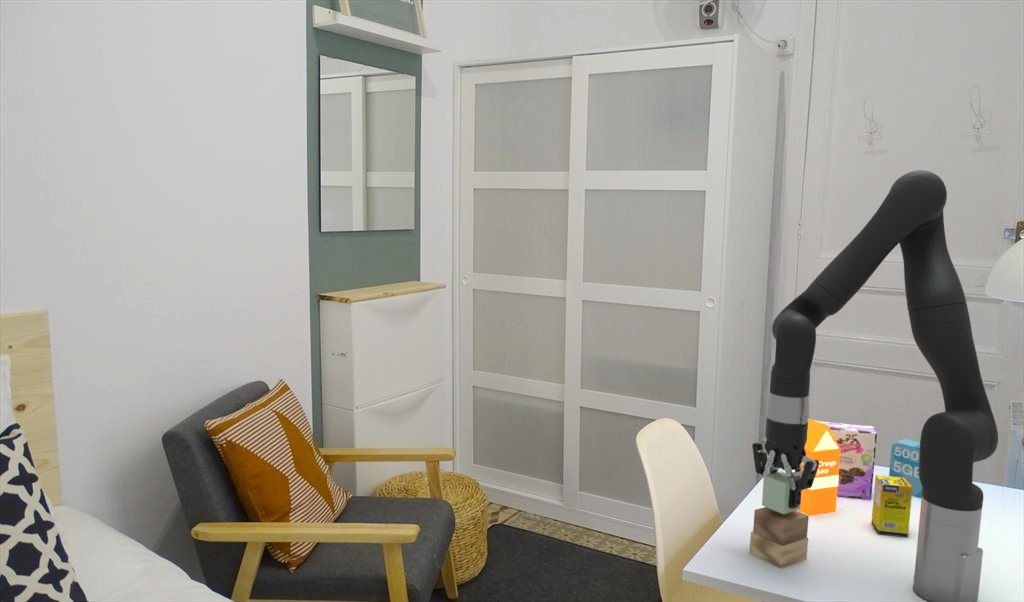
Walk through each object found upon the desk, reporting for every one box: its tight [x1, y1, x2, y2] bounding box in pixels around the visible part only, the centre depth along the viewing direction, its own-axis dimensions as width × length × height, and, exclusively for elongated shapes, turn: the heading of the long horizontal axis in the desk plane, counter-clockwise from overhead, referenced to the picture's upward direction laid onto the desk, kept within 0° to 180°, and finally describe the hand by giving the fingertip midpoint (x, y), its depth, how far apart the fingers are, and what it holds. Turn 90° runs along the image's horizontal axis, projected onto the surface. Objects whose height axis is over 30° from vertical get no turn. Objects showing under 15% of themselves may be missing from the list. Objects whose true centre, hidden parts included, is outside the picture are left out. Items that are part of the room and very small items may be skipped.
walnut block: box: [752, 506, 810, 546], centre depth 152 cm, size 7×7×4 cm
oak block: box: [748, 530, 809, 569], centre depth 152 cm, size 8×8×4 cm
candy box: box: [813, 419, 878, 501], centre depth 186 cm, size 14×6×16 cm, turn 73°
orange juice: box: [783, 418, 841, 517], centre depth 177 cm, size 8×9×20 cm
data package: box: [888, 438, 922, 499], centre depth 187 cm, size 12×4×12 cm, turn 40°
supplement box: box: [871, 474, 913, 538], centre depth 165 cm, size 6×6×11 cm
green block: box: [761, 470, 802, 514], centre depth 151 cm, size 5×5×6 cm
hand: (781, 502), depth 151 cm, fingers closed on green block, 5 cm apart
